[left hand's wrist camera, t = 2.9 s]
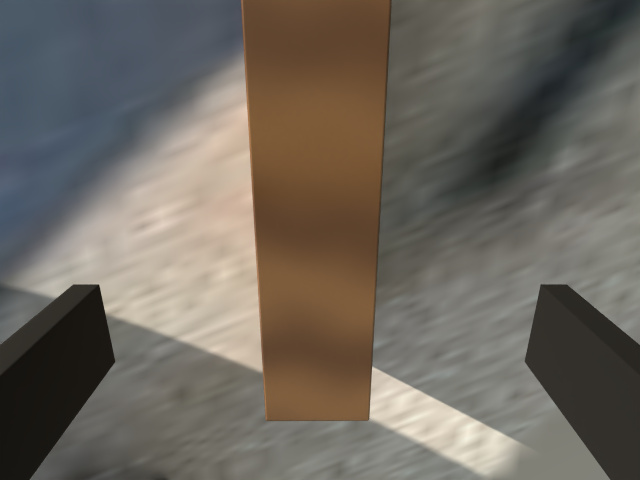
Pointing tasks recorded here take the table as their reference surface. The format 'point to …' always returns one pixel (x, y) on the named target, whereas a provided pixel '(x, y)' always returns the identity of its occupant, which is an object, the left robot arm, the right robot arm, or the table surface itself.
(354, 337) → the beam
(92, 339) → the left robot arm
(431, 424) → the table surface
